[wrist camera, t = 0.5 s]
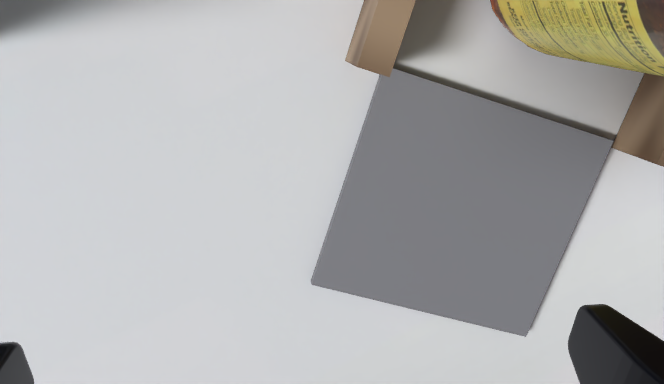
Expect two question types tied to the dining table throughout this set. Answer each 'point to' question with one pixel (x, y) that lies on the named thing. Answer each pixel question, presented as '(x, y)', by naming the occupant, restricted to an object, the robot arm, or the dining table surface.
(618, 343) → the robot arm
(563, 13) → the sauce bottle
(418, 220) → the rubber mat
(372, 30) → the bottle holder
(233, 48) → the dining table surface
